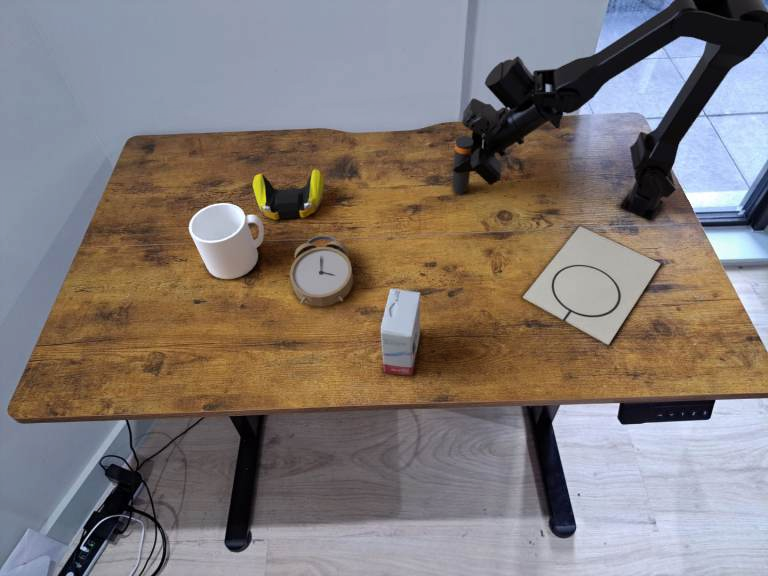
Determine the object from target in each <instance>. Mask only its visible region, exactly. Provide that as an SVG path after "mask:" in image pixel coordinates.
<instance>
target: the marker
mask: <svg viewBox="0 0 768 576" xmlns="http://www.w3.org/2000/svg"><path fill="white" fill-rule="evenodd" d="M471 145H473V139H472V138H471V136H467V135H461V136H458V137H457V138H456V139H455V144H454V158H453V159H454V160H453V168H454V167H455V166H456V165H457V164H458V163H460V162H461V161H462V160H463V159H464V158H465V157H466V156H468V155H469V154H470V149H471ZM470 174H471V172H461V173H456V172H455V171H454V170H452V183H451V184H452V185H451V187H452V189H453V192H454V193H455V194H456V195H464V194H465V193H466V192H467V190H468V189H469V185H470Z"/></svg>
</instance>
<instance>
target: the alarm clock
mask: <svg viewBox="0 0 768 576" xmlns="http://www.w3.org/2000/svg"><path fill="white" fill-rule="evenodd" d="M320 240H321V241H322V240H328V241H330V242H328V243H327V244H326V246H319V247H318V246H317V245H315V244H314V242H316V241H320ZM349 257H350V251H349V248H348V246H347V245H346V244H345V243H344V242H341V241H338V240H337V239H336V238H334V237H333V236H331V235H326V234H321V235H316V236H313V237H311V238H310V239H309V240H308V241H307V242H305V243H301V244H300V245H299V246H298V247H297V248H296V249H295V251H294V261H293V263H292V264H291V266H290V270H289V278H290V283H291V285H292V289H293V291H294V293H295V295H296V297H297V298H298V299H299V300H301V301H300V305H303V304H304V303H305V304H307V305H310V306H312V307H327V306H332V305H334V304H337V303H338V302H340V301H341V302H343V301H344V298H345V297H347V295H348V294H349V292H350V290H351V289H352V287H353V284H354V283H353V282H354V276H353V268H352V264H351V260H350V259H349Z"/></svg>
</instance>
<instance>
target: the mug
mask: <svg viewBox="0 0 768 576" xmlns="http://www.w3.org/2000/svg"><path fill="white" fill-rule="evenodd" d="M249 224H255V225H256V226H257V228H258V235H257V237H256V238H255V239H254V238H253V234H252V231H251V229H250V225H249ZM188 232H189V234H190V236H191V238H192V240H193V242H194V245H195V246H196V248H197V251H198V253H199V255H200V257H201V259H202V261H203V263H204V265H205V267H206V269H207V271H208V272H209V274H210V275H212V276H213V277H215V278H218V279H222V280H234V279H237V278H241V277H243V276H245V275H247V274H248V273H249V272H251V271H252V270H253V268H254V267H255V266H256V264H257V262H258V260H259V251H258V247H260V246H261V245H262V243H263V241H264V238H265V229H264V224H263V221H262V219H261V218H260V217H259V216H258V215H257V214H247V215H246V214H245V212H244V210H242V208H241V207H239V206H237V205H236V204H233V203H227V202H219V203H214V204H210V205H207V206H206V207H203V208H201V209H200V210H199V211H197V212H196V213H195V214H194V215H193V216H192V218H191V219H190V221H189V225H188Z"/></svg>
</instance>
